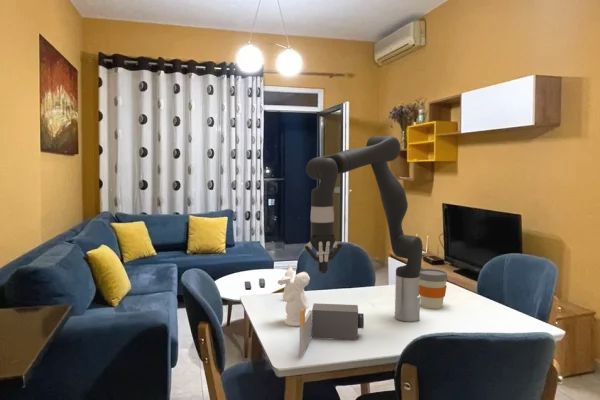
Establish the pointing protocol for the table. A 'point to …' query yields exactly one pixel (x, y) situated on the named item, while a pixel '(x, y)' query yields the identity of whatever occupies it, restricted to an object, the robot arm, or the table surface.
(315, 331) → the camera housing
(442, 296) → the reusable coffee cup
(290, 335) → the table surface
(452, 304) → the table surface
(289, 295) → the cherub figurine
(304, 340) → the door
